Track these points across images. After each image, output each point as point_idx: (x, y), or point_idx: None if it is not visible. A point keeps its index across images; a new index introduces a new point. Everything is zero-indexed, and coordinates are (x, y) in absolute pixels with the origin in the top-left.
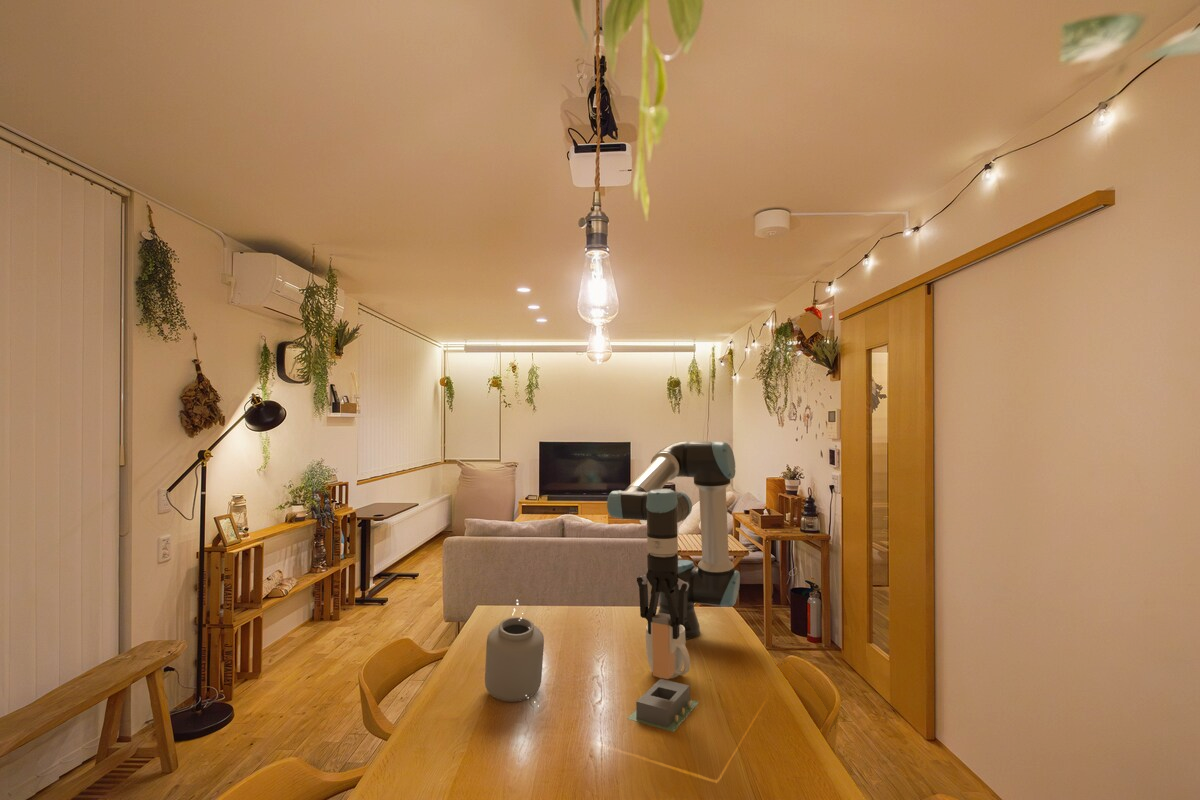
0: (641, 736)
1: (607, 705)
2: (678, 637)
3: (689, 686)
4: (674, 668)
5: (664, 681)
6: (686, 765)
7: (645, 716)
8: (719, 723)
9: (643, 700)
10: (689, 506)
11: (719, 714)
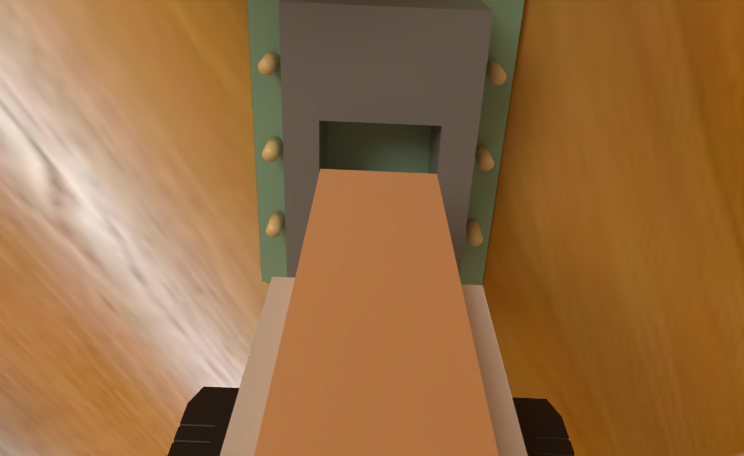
0: None
1: (113, 201)
2: (545, 404)
3: (492, 14)
4: (439, 188)
5: (320, 31)
6: (568, 419)
7: None
8: (658, 123)
9: None
10: None
11: (652, 35)
